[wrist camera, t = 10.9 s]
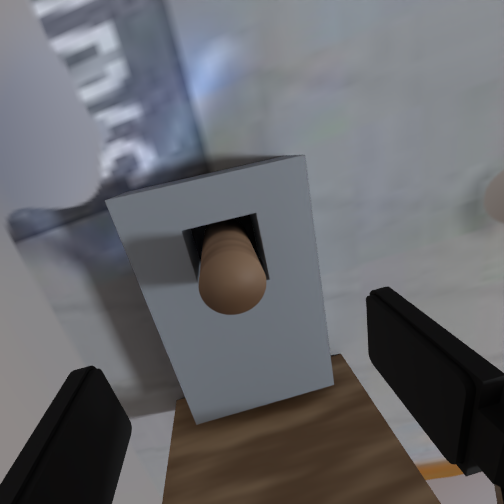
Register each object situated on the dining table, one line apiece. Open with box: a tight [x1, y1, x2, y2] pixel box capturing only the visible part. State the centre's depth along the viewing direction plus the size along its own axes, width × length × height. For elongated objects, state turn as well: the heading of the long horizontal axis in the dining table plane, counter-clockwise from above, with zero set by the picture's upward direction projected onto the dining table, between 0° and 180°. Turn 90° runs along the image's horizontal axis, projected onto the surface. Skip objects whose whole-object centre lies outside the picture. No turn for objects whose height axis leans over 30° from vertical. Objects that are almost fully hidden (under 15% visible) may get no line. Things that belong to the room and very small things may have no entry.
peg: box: [199, 218, 266, 315], centre depth 20 cm, size 4×4×10 cm
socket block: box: [105, 155, 334, 425], centre depth 24 cm, size 22×14×5 cm, turn 12°
